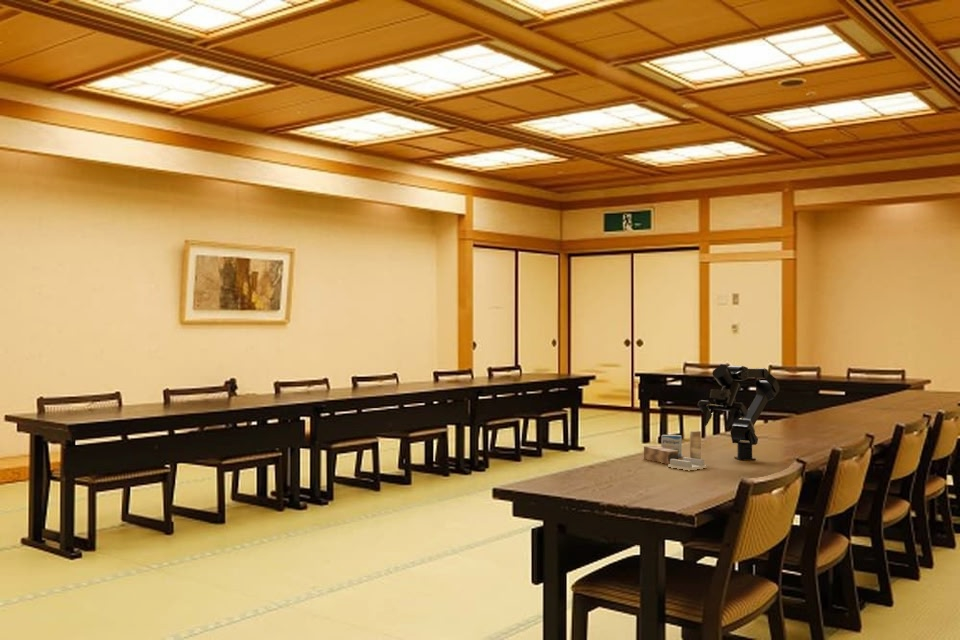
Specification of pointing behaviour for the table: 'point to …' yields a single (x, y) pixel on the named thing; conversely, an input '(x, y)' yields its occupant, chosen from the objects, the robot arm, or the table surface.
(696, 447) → the dowel
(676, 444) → the medicine box
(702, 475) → the table surface
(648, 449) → the beam
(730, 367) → the robot arm
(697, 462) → the cradle
